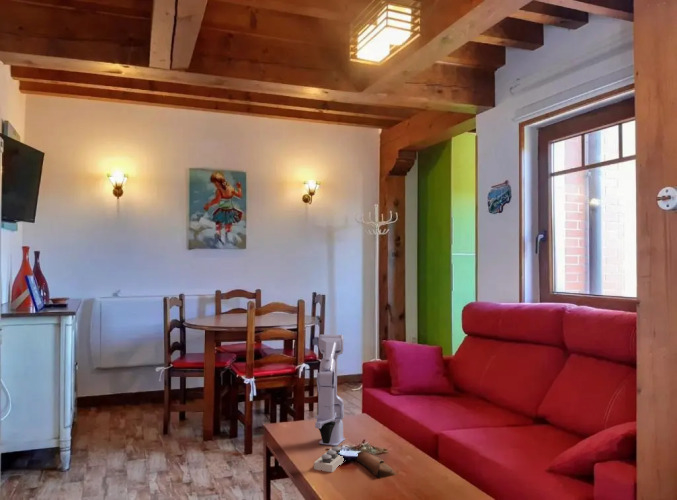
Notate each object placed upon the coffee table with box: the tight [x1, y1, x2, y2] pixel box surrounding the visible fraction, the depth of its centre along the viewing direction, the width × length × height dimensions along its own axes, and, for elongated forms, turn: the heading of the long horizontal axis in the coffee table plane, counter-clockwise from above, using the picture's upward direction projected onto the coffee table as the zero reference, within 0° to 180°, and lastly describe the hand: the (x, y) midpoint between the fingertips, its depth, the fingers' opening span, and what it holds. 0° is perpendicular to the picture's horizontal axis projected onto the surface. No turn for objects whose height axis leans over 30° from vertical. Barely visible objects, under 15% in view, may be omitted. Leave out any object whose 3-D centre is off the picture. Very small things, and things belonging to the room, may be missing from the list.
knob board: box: [313, 448, 345, 473], centre depth 197 cm, size 15×7×2 cm, turn 158°
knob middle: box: [326, 449, 337, 459], centre depth 197 cm, size 4×4×4 cm
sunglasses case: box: [355, 451, 398, 479], centre depth 194 cm, size 18×7×7 cm
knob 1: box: [321, 453, 332, 463], centre depth 193 cm, size 4×4×4 cm
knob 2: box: [330, 445, 342, 455], centre depth 201 cm, size 4×4×4 cm
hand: (326, 442), depth 195 cm, fingers closed
